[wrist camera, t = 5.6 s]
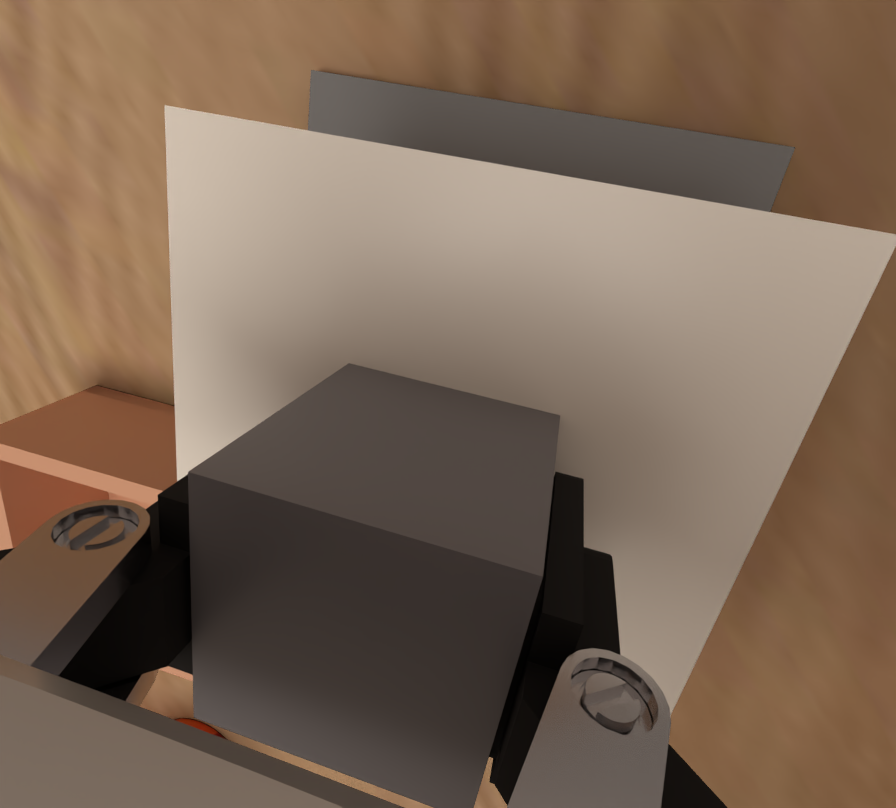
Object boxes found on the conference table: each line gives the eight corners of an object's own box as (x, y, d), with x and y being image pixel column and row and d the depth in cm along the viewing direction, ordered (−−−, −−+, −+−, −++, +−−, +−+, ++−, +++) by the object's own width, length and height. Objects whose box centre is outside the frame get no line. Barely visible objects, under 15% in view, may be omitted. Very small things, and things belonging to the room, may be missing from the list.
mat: (787, 148, 17) (794, 147, 16) (634, 548, 23) (635, 557, 23) (318, 73, 19) (311, 70, 18) (297, 457, 25) (291, 463, 25)
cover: (874, 232, 9) (1296, 273, 4) (639, 743, 14) (673, 1073, 9) (192, 111, 11) (-172, 26, 6) (199, 597, 16) (9, 792, 11)
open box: (279, 433, 25) (197, 501, 20) (272, 592, 29) (203, 684, 24) (96, 385, 27) (-27, 435, 21) (114, 543, 31) (15, 619, 25)
